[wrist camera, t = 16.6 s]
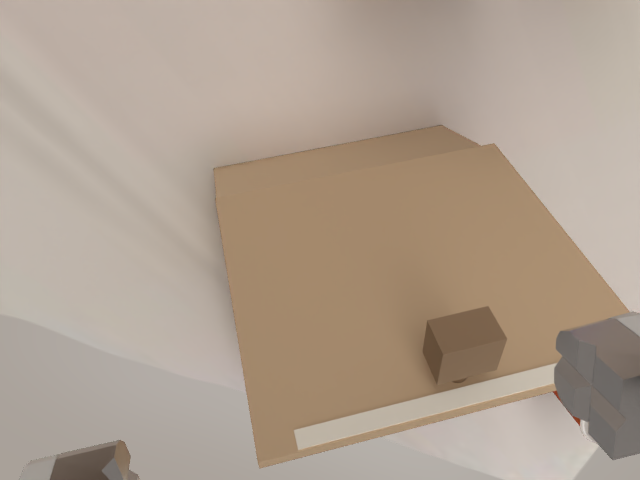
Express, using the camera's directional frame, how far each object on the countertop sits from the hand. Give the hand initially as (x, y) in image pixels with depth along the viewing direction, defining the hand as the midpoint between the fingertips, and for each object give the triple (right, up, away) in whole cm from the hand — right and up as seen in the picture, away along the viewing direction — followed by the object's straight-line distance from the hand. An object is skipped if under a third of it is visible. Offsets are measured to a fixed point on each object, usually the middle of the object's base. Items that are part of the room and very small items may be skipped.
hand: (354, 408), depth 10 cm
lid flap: (+5, +1, +25) cm, 25 cm away
